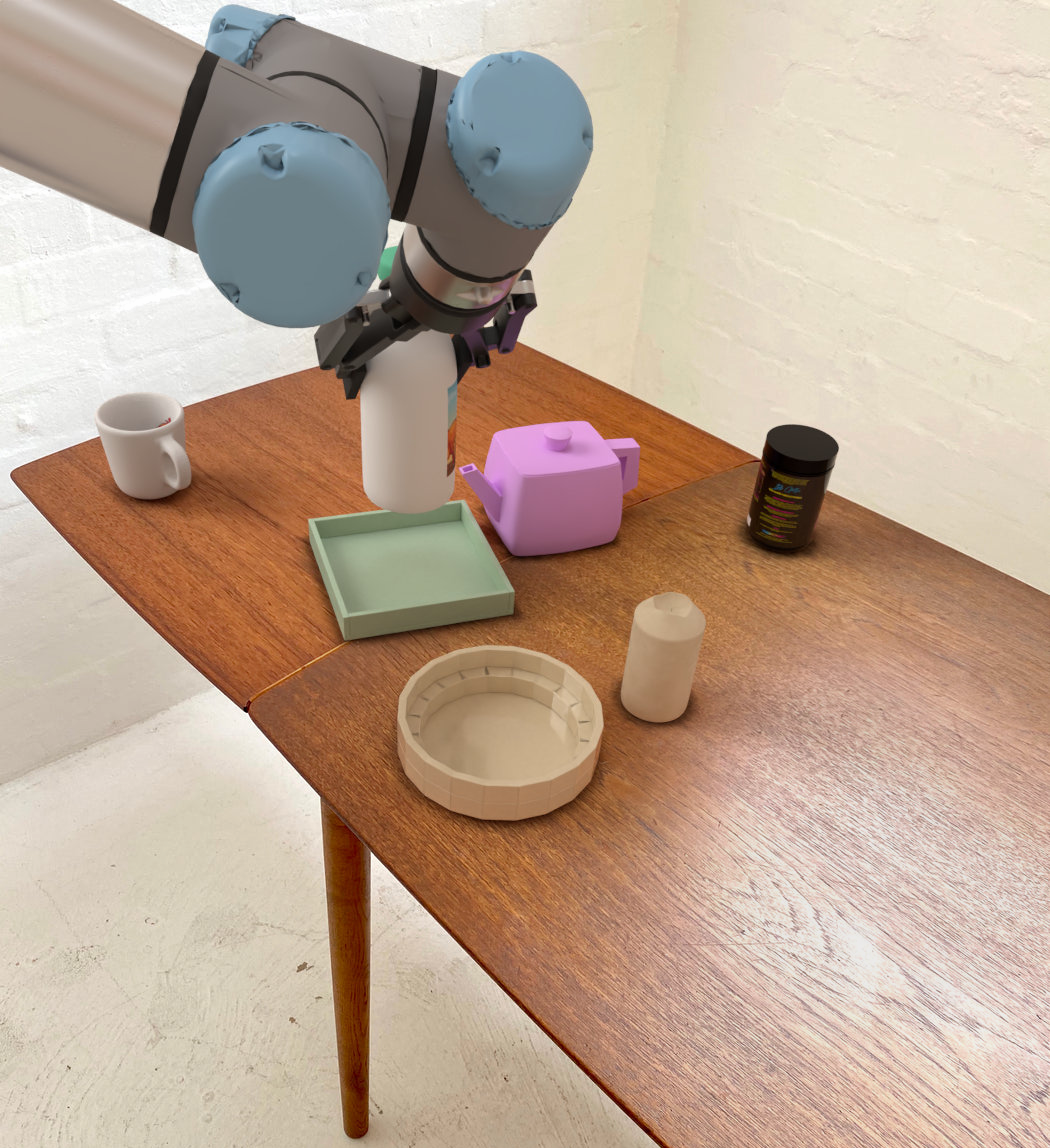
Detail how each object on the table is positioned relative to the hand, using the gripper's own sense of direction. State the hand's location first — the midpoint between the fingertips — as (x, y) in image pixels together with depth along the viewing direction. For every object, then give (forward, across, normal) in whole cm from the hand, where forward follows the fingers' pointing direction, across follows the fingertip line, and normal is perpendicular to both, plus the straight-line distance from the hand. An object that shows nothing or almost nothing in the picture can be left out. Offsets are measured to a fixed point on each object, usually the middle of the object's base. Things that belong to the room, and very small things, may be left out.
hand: (398, 378), depth 91 cm
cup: (+24, -20, -2) cm, 31 cm away
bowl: (-6, +1, -31) cm, 32 cm away
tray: (+10, 0, -15) cm, 18 cm away
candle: (-5, +15, -30) cm, 34 cm away
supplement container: (+9, +37, -16) cm, 41 cm away
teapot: (+14, +15, -11) cm, 23 cm away
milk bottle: (+4, 0, -9) cm, 10 cm away
